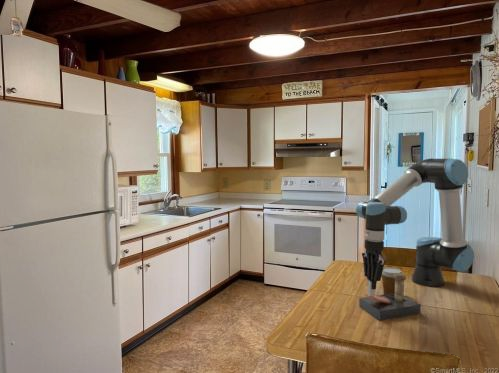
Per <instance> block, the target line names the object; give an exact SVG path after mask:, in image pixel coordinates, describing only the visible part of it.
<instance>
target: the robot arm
mask: <svg viewBox="0 0 499 373" xmlns="http://www.w3.org/2000/svg"><path fill="white" fill-rule="evenodd" d="M468 177H469V170H468V167H467V165H466V163H465V162H464V161H463V160H461V159H458V158H426V159H422V160H420V161H417V162H416V163H414V164H413V165H411V166H410V167H408V168H407V169H406V170H404V171H403V174H402V175H401V176H399V178H397V179H396V180H395V181H393V182H392V183H391V184H389V185H388V186H386V187H385V189H383V190H382V191H380V192H379V193H378V194H376V195H375V196H374V197H373V198H371V199H370V200H368V201H361V202H359V203H357V205H356V208H355V212H356V215H357V216H358V217H359V218H361V219H364V220H365V231H364V238H365V240H364V244H363V245H364V249H365V252H362V253H361V256H362V262H363V272H364V274H363V275H364V277H366V279H367V294H368V296H370V297H371V296H376V293H377V292H376V289H377V283H378V282H381V281H382V272H383V268H385V264H386V262H387V260H385V259H383V256H382V251H384V249H385V248H384V247H385V242H384V240H385V234H386V233H385V228H386V226H387V225H400V224H403V223H404V222H406V221H407V219H408V213H407V210H406V208H405V207H403V206H402V205H393V204H394V203H396V202H397V201H398V200H400V198H402V197H403V196H405V195H406V194H407V193H408V192H410V191H411V190H412V189H413V188H414V187H419V186H421V185H422V184H426V183H428V184H429V183H431V184H434V189H435V190H436V191H437V192H438V198H439V210H440V220H441V231H442V232H441V233H442V237H436V236H427V237H420V238H418V239H417V240H416V246H415V250H416V251H415V252H416V253H415V267H414V270H413V273H412V275H411V281H412V282H414V283H415V284H418V285H421V286H426V287H441V286H444V285H445V278H444V275H443V272H442V267H443V268H447V269H451V270H453V271H459V272H465V271H468V270H469V268H470V267H471V266H472V264H473V262H474V259H475V258H474V257H475V252H474V250H473V249H472V248H471V247H468V242H467V240H465V238H464V231H463V230H464V229H463V217H462V207H461V193H460V191H461V189H463V187H464V185H465V184H466V183H467V182H468Z"/></svg>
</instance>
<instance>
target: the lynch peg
mask: <svg viewBox="0 0 499 373" xmlns="http://www.w3.org/2000/svg"><path fill="white" fill-rule="evenodd" d="M394 278H395V301H397V302H404V296H405V295H404V294H405V280H407V275H406V274H404V273H402V274H400V273H396V274H394Z"/></svg>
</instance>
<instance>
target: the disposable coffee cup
mask: <svg viewBox="0 0 499 373" xmlns="http://www.w3.org/2000/svg"><path fill="white" fill-rule="evenodd" d="M396 273H400V274H403V273H402V270H401V269H399V268H396V267H387V266H386V267H383V272H382V276H381V281H382V290H383V291H382V292H383V295H384V294H391V293H395V278H394V274H396Z"/></svg>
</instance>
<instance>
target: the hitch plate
mask: <svg viewBox="0 0 499 373" xmlns="http://www.w3.org/2000/svg"><path fill="white" fill-rule="evenodd" d="M376 296H379V297H383V296H384V297H386V298H388V299H389V300H391V301H393V303H392V304H391V303H385V302H380V301H374V300H372V299H370V298H368V297H367V296H365V297H363V296H362V297H359V302H358V307H359V308H360V309H362V310H363V311H364V312H366V313H367V314H369V315H371V316H372V317H373V318H374V319H376V320H378V321H386V320H391V319H399V318H405V317H409V316H416V315H421V308H422V307H421V306H422V305H421V304H420V303H418V302H417V301H415V300H412V299H411V298H409V297H407V296H405V295H404V302H397V301H395V293H391V294H384V293H383V294H377V295H376Z"/></svg>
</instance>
